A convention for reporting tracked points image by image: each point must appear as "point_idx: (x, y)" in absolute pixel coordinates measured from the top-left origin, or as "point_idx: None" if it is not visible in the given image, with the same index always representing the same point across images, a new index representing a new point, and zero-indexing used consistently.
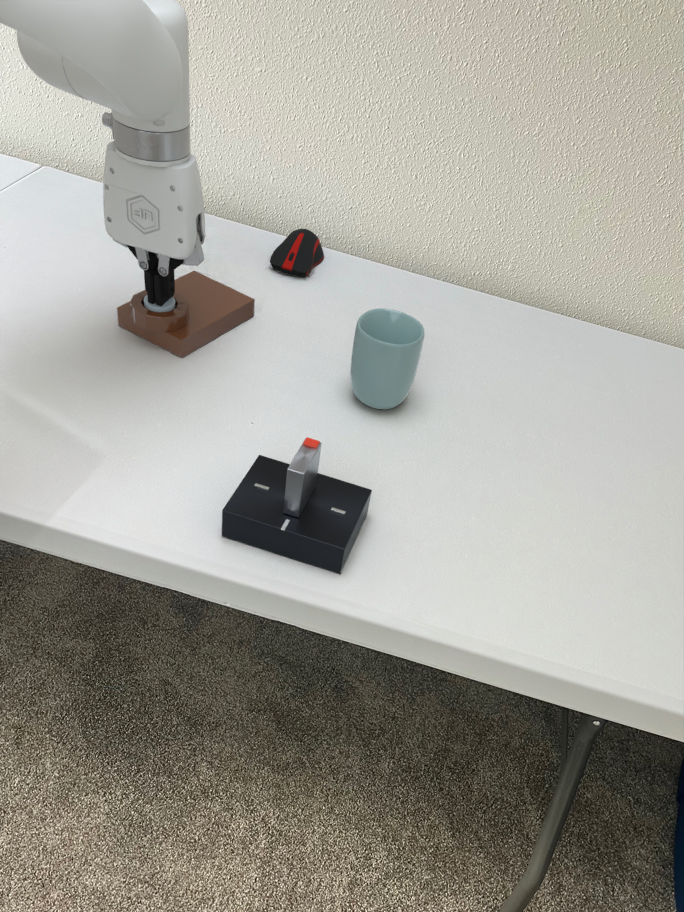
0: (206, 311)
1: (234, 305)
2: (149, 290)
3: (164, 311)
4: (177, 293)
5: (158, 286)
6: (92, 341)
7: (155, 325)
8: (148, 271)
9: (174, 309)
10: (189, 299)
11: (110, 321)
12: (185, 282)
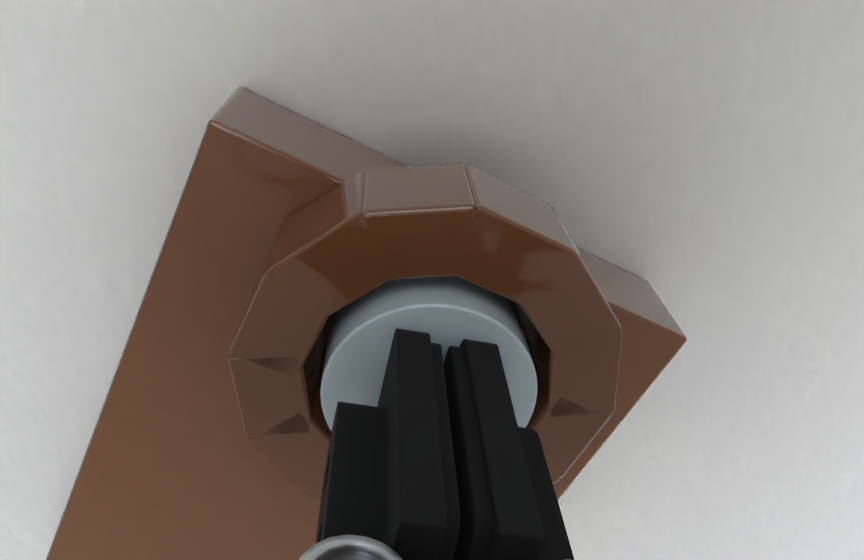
0: (199, 458)
1: (86, 548)
2: (492, 404)
3: (368, 304)
4: None
5: (407, 435)
6: (763, 97)
7: (406, 182)
8: (523, 555)
9: (307, 344)
10: None
11: (690, 304)
12: None
